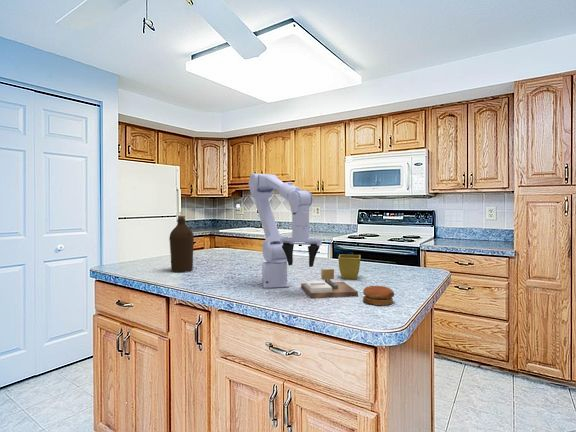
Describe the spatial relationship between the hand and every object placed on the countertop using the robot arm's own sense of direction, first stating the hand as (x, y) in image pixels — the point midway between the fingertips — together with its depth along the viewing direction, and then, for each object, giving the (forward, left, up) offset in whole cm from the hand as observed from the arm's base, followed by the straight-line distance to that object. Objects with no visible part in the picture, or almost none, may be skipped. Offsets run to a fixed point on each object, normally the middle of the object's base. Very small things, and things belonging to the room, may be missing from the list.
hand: (300, 265), depth 122 cm
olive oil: (-45, +50, -10) cm, 68 cm away
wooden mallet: (+11, +2, -8) cm, 14 cm away
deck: (+10, 0, -9) cm, 14 cm away
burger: (+21, -14, -10) cm, 28 cm away
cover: (+6, -1, -8) cm, 10 cm away
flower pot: (+25, +21, -10) cm, 34 cm away
